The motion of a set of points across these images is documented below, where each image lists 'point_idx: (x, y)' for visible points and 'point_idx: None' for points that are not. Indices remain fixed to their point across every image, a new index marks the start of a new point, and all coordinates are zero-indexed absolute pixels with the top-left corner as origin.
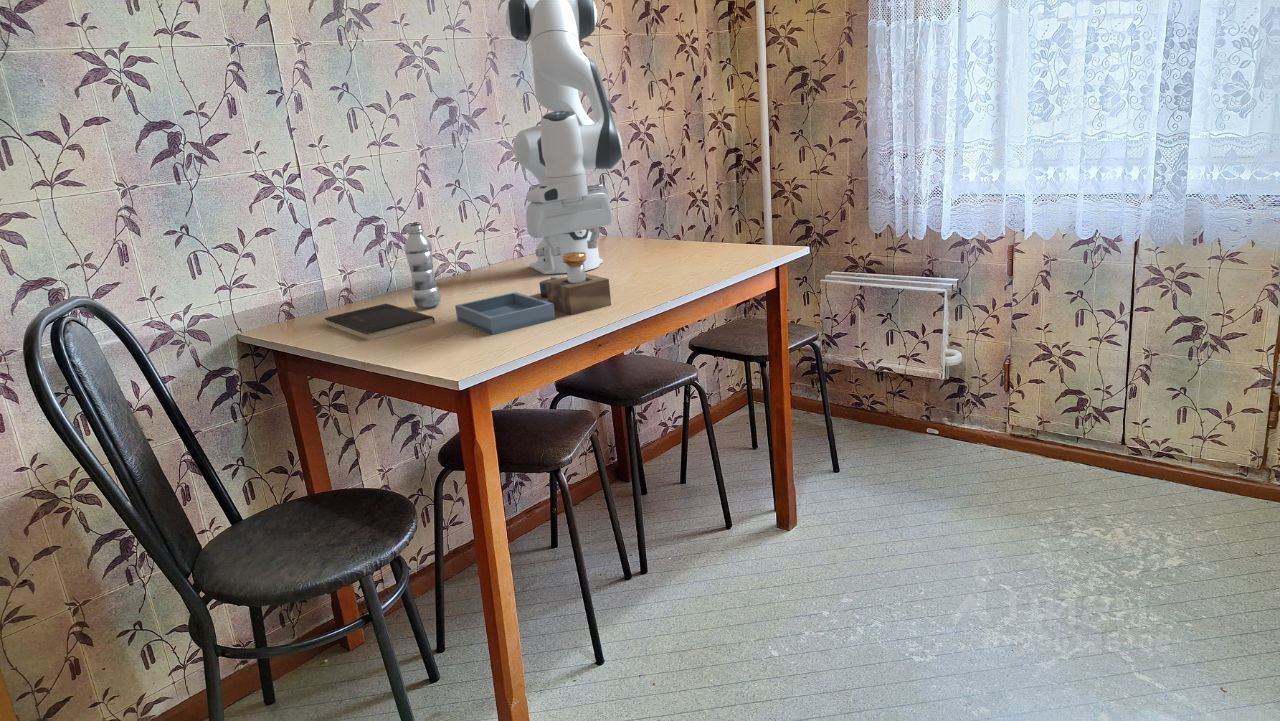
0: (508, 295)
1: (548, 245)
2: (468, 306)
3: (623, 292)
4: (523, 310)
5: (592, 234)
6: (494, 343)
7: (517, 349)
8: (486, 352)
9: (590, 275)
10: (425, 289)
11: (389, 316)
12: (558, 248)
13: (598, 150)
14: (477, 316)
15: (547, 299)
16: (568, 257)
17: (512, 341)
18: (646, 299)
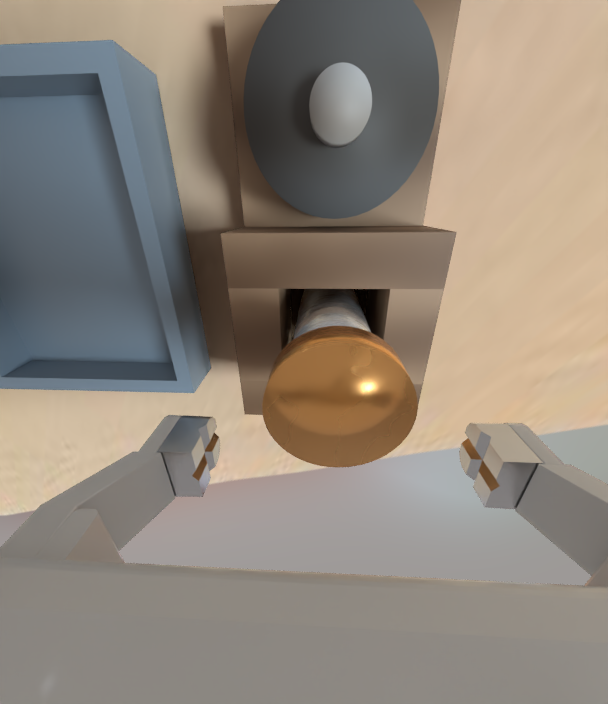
0: (72, 74)
1: (108, 472)
2: None
3: (546, 263)
4: (96, 389)
5: (599, 521)
6: (42, 420)
7: (84, 475)
8: (26, 452)
9: (430, 306)
10: None
11: None
12: (191, 491)
13: None
14: None
15: (254, 197)
16: (275, 437)
17: (80, 434)
18: (487, 395)
